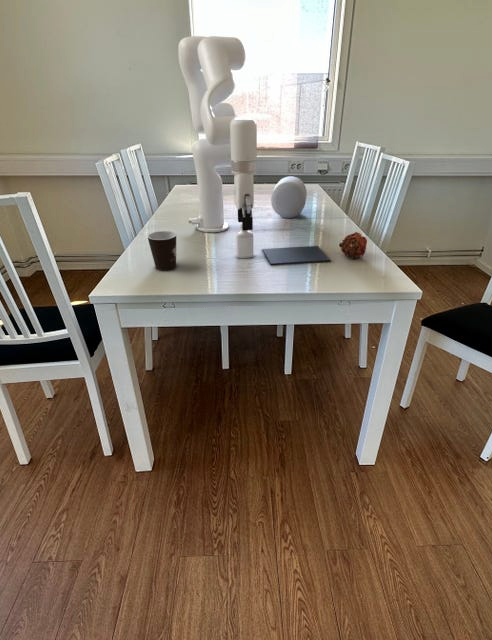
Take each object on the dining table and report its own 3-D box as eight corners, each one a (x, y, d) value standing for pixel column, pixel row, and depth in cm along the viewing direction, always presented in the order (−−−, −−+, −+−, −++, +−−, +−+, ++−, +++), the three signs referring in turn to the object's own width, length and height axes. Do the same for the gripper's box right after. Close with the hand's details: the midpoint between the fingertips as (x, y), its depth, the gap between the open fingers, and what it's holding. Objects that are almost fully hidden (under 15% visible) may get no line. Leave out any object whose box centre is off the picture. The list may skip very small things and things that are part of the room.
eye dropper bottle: (251, 259, 130) (251, 222, 123) (235, 258, 131) (234, 221, 124) (254, 255, 133) (254, 218, 127) (238, 253, 134) (237, 217, 128)
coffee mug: (166, 274, 119) (162, 241, 114) (146, 268, 123) (141, 236, 117) (191, 262, 127) (188, 231, 122) (171, 257, 131) (167, 227, 126)
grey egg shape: (255, 205, 170) (271, 185, 187) (277, 232, 175) (290, 210, 192) (288, 177, 158) (301, 158, 175) (310, 206, 163) (321, 185, 180)
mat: (270, 265, 126) (270, 263, 126) (262, 250, 137) (262, 248, 137) (330, 261, 129) (330, 259, 129) (317, 247, 140) (317, 245, 140)
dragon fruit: (352, 267, 129) (346, 259, 139) (375, 252, 126) (367, 245, 137) (339, 246, 126) (333, 239, 136) (363, 230, 123) (355, 224, 134)
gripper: (228, 163, 123) (230, 219, 132) (235, 171, 109) (237, 234, 118) (251, 162, 124) (252, 218, 134) (262, 171, 110) (261, 232, 119)
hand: (245, 225), depth 126 cm, fingers open, 9 cm apart
